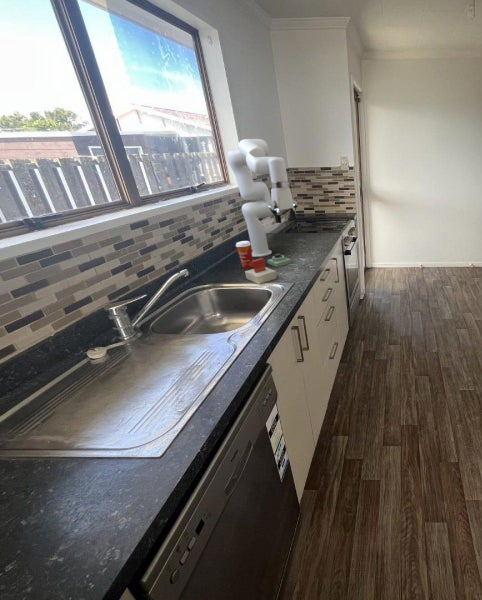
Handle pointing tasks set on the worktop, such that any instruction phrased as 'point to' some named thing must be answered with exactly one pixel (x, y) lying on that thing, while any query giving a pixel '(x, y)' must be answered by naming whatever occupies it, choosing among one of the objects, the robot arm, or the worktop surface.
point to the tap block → (261, 275)
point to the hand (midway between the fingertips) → (286, 220)
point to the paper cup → (245, 253)
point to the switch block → (278, 261)
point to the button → (278, 255)
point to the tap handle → (258, 265)
